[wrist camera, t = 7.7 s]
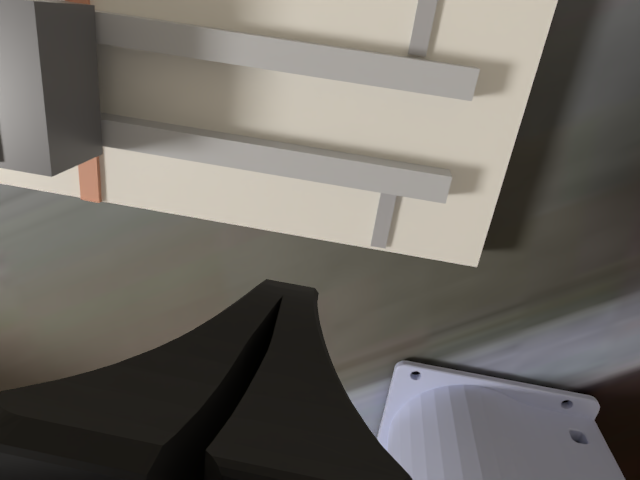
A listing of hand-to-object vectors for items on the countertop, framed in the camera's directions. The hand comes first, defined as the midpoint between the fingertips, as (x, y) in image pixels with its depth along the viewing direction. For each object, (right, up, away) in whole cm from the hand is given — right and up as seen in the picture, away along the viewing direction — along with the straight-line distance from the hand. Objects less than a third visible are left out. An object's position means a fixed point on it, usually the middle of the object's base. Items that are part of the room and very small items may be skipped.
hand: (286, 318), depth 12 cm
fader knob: (-9, +8, +6) cm, 13 cm away
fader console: (-3, +8, +7) cm, 11 cm away
